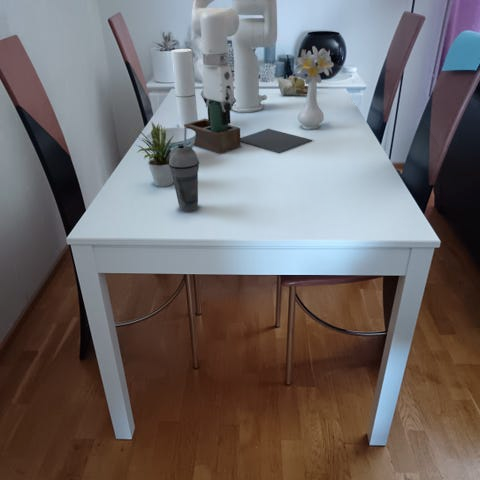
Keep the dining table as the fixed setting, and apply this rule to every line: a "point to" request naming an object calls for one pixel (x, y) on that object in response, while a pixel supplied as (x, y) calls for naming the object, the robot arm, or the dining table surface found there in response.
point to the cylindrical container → (184, 86)
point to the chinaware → (176, 138)
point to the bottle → (216, 117)
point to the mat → (274, 140)
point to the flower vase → (313, 84)
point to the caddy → (214, 136)
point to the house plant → (159, 157)
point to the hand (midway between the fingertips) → (219, 121)
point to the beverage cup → (185, 176)
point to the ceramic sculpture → (292, 85)
